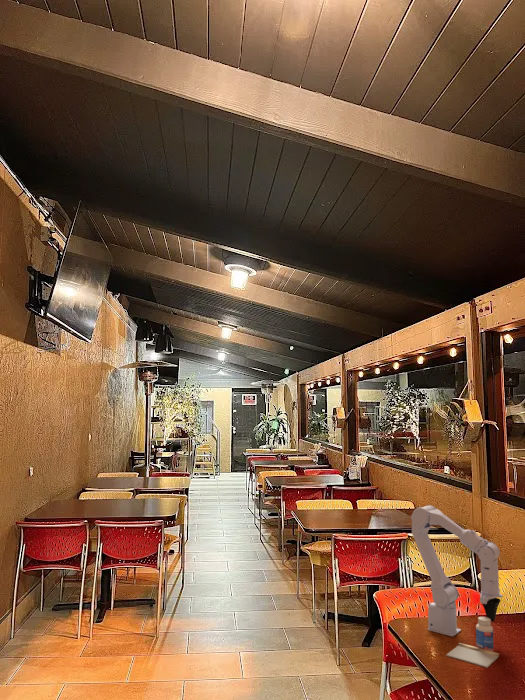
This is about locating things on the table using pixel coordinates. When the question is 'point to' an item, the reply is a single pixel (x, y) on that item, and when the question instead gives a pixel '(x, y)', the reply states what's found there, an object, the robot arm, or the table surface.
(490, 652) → the stop strip
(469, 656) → the mat
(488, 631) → the pill bottle
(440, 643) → the table surface
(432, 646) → the table surface
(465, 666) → the table surface
